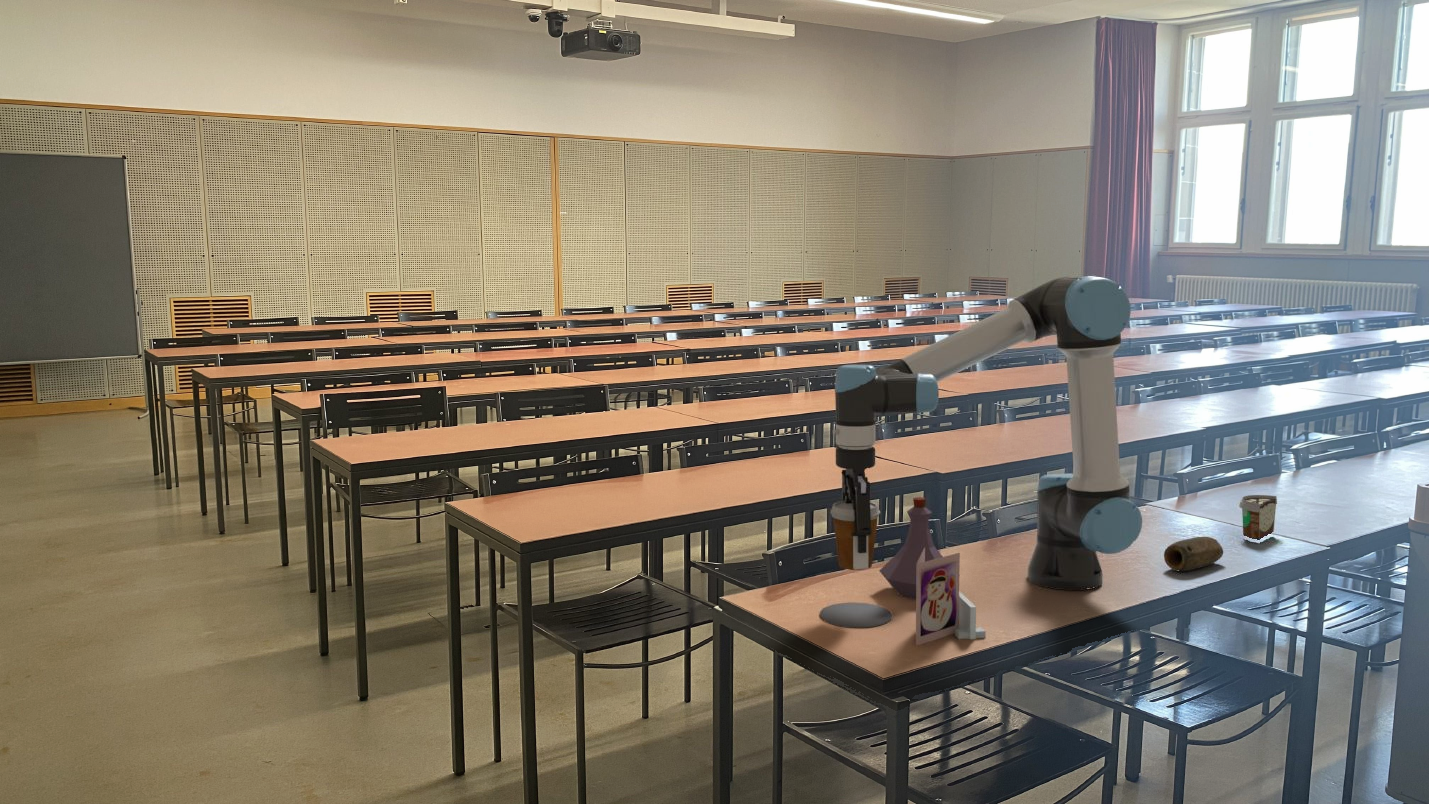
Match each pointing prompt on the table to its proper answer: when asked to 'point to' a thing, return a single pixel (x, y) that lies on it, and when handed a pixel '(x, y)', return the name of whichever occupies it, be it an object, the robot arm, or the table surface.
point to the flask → (911, 552)
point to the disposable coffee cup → (845, 527)
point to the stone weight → (1193, 553)
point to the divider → (968, 620)
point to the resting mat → (856, 615)
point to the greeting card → (937, 597)
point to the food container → (1258, 515)
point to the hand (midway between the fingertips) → (855, 561)
